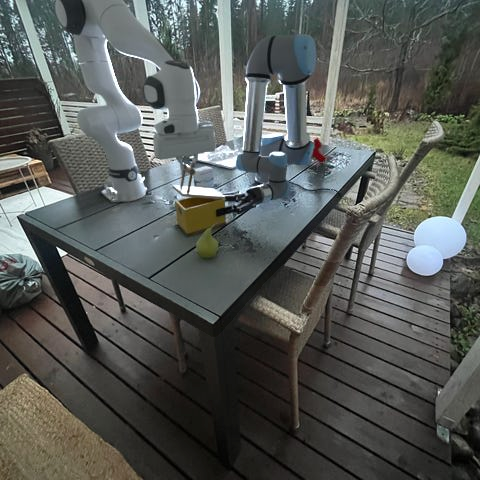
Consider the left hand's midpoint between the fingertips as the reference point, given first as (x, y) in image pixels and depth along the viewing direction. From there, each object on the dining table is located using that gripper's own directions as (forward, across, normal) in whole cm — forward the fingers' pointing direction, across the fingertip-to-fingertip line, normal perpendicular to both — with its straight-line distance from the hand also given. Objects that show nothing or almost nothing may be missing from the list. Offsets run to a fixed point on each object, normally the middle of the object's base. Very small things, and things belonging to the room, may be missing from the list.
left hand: (188, 168), depth 91 cm
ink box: (+23, -18, -28) cm, 41 cm away
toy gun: (+23, -94, -36) cm, 103 cm away
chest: (+23, -3, 0) cm, 23 cm away
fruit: (+23, +4, +20) cm, 30 cm away
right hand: (+17, -7, 0) cm, 18 cm away
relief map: (+23, -54, -73) cm, 93 cm away
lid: (+10, -3, 0) cm, 10 cm away
